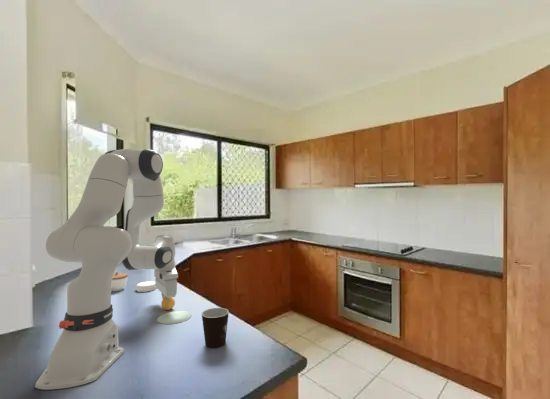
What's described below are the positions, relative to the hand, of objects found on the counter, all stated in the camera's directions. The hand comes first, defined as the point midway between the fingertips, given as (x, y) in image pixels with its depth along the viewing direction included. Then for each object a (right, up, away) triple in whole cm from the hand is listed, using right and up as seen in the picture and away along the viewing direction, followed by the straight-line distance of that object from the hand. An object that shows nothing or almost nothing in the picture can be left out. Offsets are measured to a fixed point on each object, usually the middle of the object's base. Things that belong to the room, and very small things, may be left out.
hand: (165, 302), depth 126 cm
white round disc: (-21, -3, +27) cm, 34 cm away
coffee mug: (+30, -1, -33) cm, 45 cm away
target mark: (+8, -2, -12) cm, 15 cm away
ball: (+2, +1, -3) cm, 4 cm away
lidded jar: (-37, -3, +27) cm, 46 cm away
